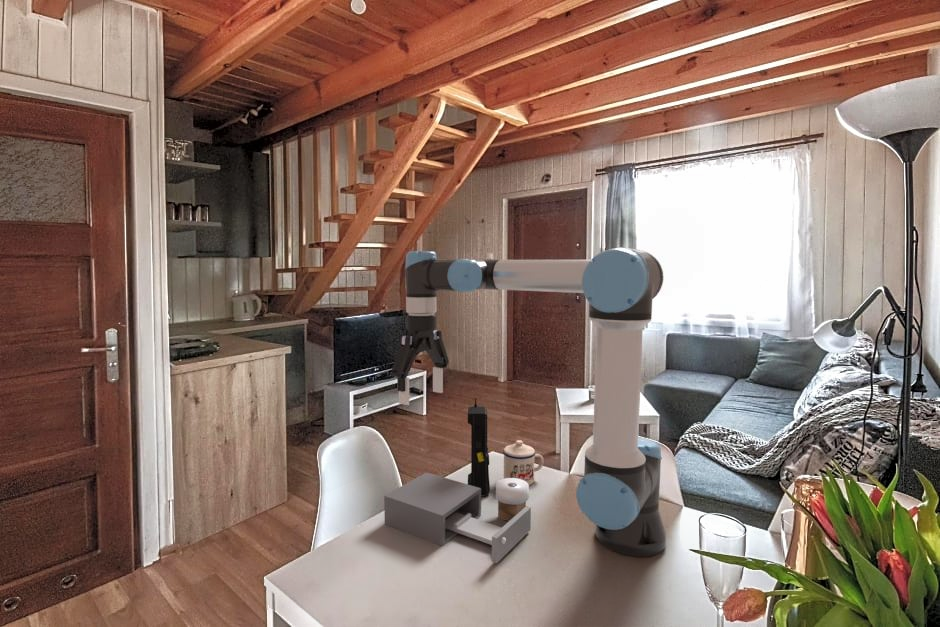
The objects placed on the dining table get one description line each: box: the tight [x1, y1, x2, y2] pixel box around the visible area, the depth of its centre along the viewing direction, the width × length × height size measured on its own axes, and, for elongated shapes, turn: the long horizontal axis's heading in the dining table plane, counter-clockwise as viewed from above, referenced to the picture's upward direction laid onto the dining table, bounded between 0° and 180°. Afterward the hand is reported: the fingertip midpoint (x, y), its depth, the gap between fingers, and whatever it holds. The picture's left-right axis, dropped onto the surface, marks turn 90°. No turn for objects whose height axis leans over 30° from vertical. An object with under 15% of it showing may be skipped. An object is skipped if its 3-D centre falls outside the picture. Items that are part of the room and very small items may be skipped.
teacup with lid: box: [502, 440, 545, 486], centre depth 143 cm, size 12×9×12 cm
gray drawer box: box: [383, 472, 482, 547], centre depth 121 cm, size 17×16×7 cm
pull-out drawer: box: [445, 505, 532, 564], centre depth 114 cm, size 18×16×5 cm
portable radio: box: [467, 397, 491, 497], centre depth 135 cm, size 8×6×25 cm
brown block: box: [497, 500, 527, 522], centre depth 123 cm, size 5×5×5 cm
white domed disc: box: [495, 478, 530, 505], centre depth 123 cm, size 8×8×3 cm
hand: (421, 397), depth 126 cm, fingers open, 13 cm apart
